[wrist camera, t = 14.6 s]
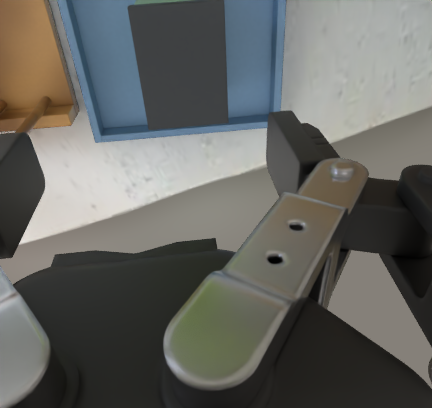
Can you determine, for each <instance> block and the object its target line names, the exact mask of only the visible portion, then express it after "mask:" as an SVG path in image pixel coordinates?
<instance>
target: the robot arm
mask: <svg viewBox="0 0 432 408" xmlns="http://www.w3.org/2000/svg"><path fill="white" fill-rule="evenodd" d="M266 161H267V168H268V171H269V174H270V176H271V178H272V181H273V183H274V185H275V188H276V190H277V193H278V195H279V199H278V200H277V201H276V202H275V204H274V205H273V206H272V208H271V209H270V210H269V211H268V212H267V214H266V215H265V216H264V218H263V219H262V220H261V221H260V223H259V224H258V225H257V226H256V228H255V229H254V230H253V232H252V233H251V234H250V235H249V237H248V238H247V239H246V241H245V242H244V243H243V244H242V246H241V247H240V248H239V249H238V251H237V252H233V251H227V250H220V249H217V244H216V239H215V238H212V239H202V240H194V241H183V242H176V243H172V244H169V245H165V246H162V247H158V248H154V249H151V250H147V251H144V252H140V253H135V254H132V253H119V252H107V251H86V252H76V253H66V254H57V255H55V257H54V259H53V262H52V265H51V267H49V268H46V269H43V270H40V271H38V272H35V273H33V274H31V275H29V276H27V277H25V278H23V279H21V280H19V281H18V282H16V283H15V284H13V285H12V283H11V282H10V280H9V279H8V277H7V276H6V274H5V273H4V271H3V270H2V268H1V266H0V408H432V389H431V388H430V386H429V385H428V384H427V383H426V382H425V381H424V380H423V379H422V378H421V377H420V376H419V375H418V374H417V373H416V372H414V371H413V370H412V369H411V368H409V367H408V366H407V365H406V364H404V363H403V362H402V361H400V360H399V359H397V358H396V357H394V356H393V355H392V354H390V353H389V352H387V351H386V350H384V349H383V348H382V347H380V346H379V345H377V344H376V343H374V342H373V341H371V340H370V339H368V338H367V337H366V336H364V335H363V334H361V333H360V332H358V331H357V330H356V329H354V328H353V327H351V326H350V325H348V324H347V323H346V322H344V321H343V320H341V319H340V318H338V317H337V316H336V315H334V314H332V313H331V312H330V311H328V310H327V308H328V305H329V301H330V298H331V296H332V293H333V291H334V288H335V286H336V284H337V282H338V280H339V277H340V275H341V273H342V271H343V268H344V266H345V264H346V262H347V259H348V257H349V255H350V252H351V250H355V251H364V252H371V253H379V255H380V257H381V259H382V261H383V262H384V264H385V266H386V267H387V270H388V271H389V273H390V275H391V277H392V278H393V280H394V282H395V284H396V285H397V287H398V289H399V290H400V292H401V294H402V296H403V298H404V299H405V301H406V303H407V305H408V306H409V308H410V310H411V312H412V313H413V315H414V317H415V319H416V320H417V322H418V324H419V326H420V327H421V329H422V331H423V333H424V334H425V336H426V338H427V340H428V341H429V343H430V345H431V347H432V166H430V165H412V166H409V167H406V168H405V169H403V171H402V173H401V176H400V179H399V181H395V180H384V179H375V178H369V177H368V176H369V173H368V170H367V169H366V168H365V167H364V166H363V165H362V164H360V163H358V162H355V161H352V160H349V159H343V158H340V156H339V155H338V154H337V153H336V151H335V150H334V149H333V147H332V146H331V145H330V144H329V142H328V141H327V140H326V138H324V136H323V134H322V133H321V132H320V131H319V129H317V128H315V127H314V126H312V125H310V124H308V123H303V124H301V123H300V122H299V120H298V119H297V117H296V116H295V114H294V113H293V112H292V111H291V110H289V111H277V112H270V113H269V115H268V124H267V148H266ZM44 189H45V179H44V174H43V172H42V169H41V166H40V163H39V161H38V158H37V155H36V153H35V150H34V147H33V145H32V142H31V140H30V137H29V136H28V135H27V133H25V132H20V133H8V134H0V259H4V258H12V257H13V255H14V253H15V251H16V249H17V247H18V245H19V243H20V240H21V238H22V236H23V234H24V232H25V230H26V228H27V226H28V224H29V222H30V220H31V218H32V215H33V213H34V211H35V209H36V207H37V205H38V203H39V201H40V199H41V197H42V195H43V193H44ZM428 373H429V377H430V380H431V383H432V358H431V360H430V362H429V366H428Z"/></svg>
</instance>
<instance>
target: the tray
mask: <svg viewBox="0 0 432 408" xmlns="http://www.w3.org/2000/svg"><path fill="white" fill-rule="evenodd" d="M57 1H58V5H59V9H60V13H61V16H62V20H63V24H64V27H65V31H66V35H67V39H68V42H69V46H70V50H71V54H72V57H73V61H74V65H75V68H76V72H77V76H78V80H79V83H80V87H81V91H82V94H83V98H84V102H85V106H86V109H87V113H88V117H89V120H90V124H91V128H92V132H93V135H94V139H95V142H96V143H99V142H110V141H122V140H133V139H145V138H156V137H167V136H179V135H190V134H202V133H213V132H224V131H236V130H247V129H258V128H267V124H268V115H269V113H270V112H277V111H280V108H281V89H282V71H283V52H284V33H285V15H286V0H224V7H225V35H226V63H227V91H228V119H229V123H225V124H214V125H203V126H192V127H180V128H169V129H158V130H148V124H147V118H146V112H145V107H144V101H143V95H142V89H141V84H140V78H139V72H138V66H137V61H136V55H135V49H134V43H133V38H132V32H131V26H130V20H129V15H128V9H127V7H128V6H129V5H134V4H135V2H136V0H57Z"/></svg>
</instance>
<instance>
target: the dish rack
mask: <svg viewBox="0 0 432 408" xmlns="http://www.w3.org/2000/svg"><path fill="white" fill-rule="evenodd" d="M78 113H79V108H78V105H77V101H76V97H75V94H74V90H73V87H72V83H71V80H70V76H69V73H68V69H67V65H66V62H65V58H64V55H63V51H62V48H61V44H60V41H59V37H58V33H57V30H56V26H55V23H54V19H53V16H52V12H51V9H50V5H49V2H48V0H0V132H2V131H14V130H16V132H15V133H20V132H25V133H27V135H28V134H29V133H30V131H31V130H32V129H37V128H49V127H61V126H71V125H72V124H73V122H74V120H75V118H76V116H77V115H78Z"/></svg>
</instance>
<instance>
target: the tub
mask: <svg viewBox="0 0 432 408" xmlns="http://www.w3.org/2000/svg"><path fill="white" fill-rule="evenodd" d="M127 9H128V15H129V20H130V26H131V32H132V38H133V43H134V49H135V55H136V61H137V66H138V72H139V78H140V84H141V89H142V95H143V101H144V107H145V112H146V118H147V124H148V130H158V129H169V128H180V127H192V126H203V125H214V124H225V123H229V119H228V91H227V63H226V35H225V7H224V0H136V2H135V4H134V5H129V6H128V7H127Z"/></svg>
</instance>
